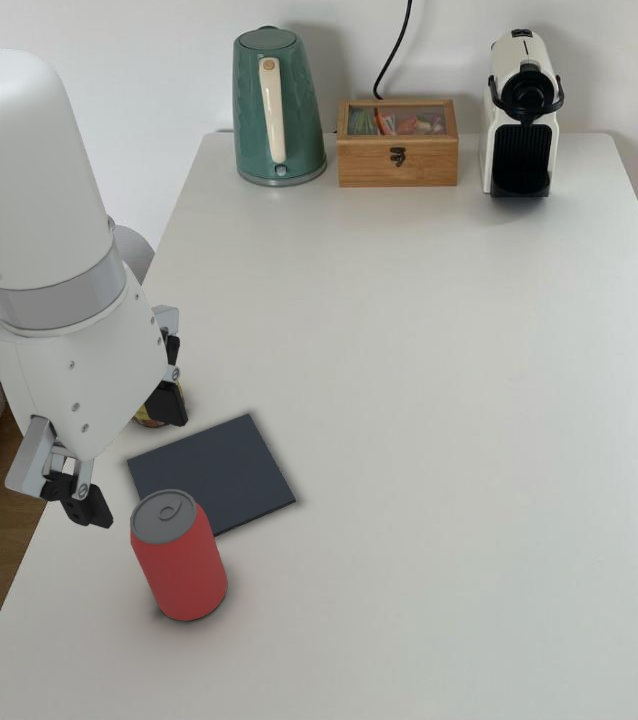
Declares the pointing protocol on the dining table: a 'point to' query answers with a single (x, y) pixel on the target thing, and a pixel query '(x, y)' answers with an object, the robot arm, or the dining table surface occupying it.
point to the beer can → (178, 554)
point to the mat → (217, 473)
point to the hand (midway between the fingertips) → (133, 467)
